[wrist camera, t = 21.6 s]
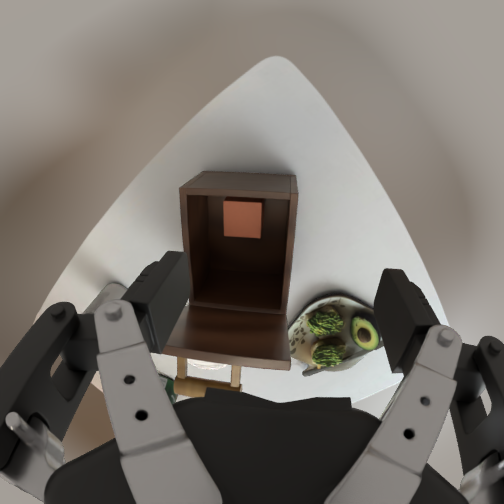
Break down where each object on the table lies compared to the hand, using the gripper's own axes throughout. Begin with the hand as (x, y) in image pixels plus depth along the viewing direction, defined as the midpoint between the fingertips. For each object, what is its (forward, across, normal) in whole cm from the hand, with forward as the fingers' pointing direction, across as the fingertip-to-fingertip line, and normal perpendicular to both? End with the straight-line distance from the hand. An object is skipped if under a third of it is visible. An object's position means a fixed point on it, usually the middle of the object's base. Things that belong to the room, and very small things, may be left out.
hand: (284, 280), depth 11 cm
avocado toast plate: (+28, -11, +28) cm, 41 cm away
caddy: (+28, +5, +9) cm, 30 cm away
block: (+27, +5, +6) cm, 28 cm away
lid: (+11, +5, +13) cm, 18 cm away
